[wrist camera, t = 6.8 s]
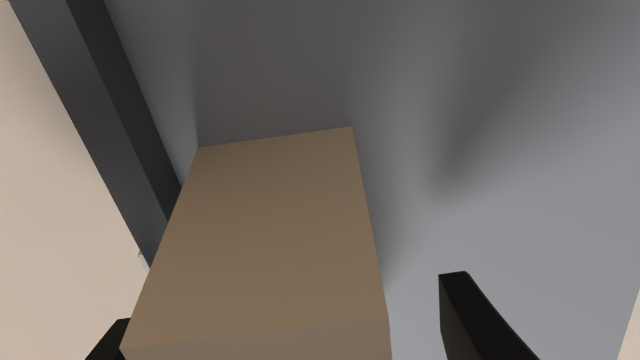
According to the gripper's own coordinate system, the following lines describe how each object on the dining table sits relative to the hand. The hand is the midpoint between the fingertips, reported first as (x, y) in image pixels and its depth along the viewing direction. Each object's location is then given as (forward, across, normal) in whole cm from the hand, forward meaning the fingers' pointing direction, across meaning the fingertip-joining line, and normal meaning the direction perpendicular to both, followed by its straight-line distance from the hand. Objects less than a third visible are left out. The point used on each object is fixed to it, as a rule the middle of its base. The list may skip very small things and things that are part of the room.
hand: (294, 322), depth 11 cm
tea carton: (+3, 0, 0) cm, 3 cm away
